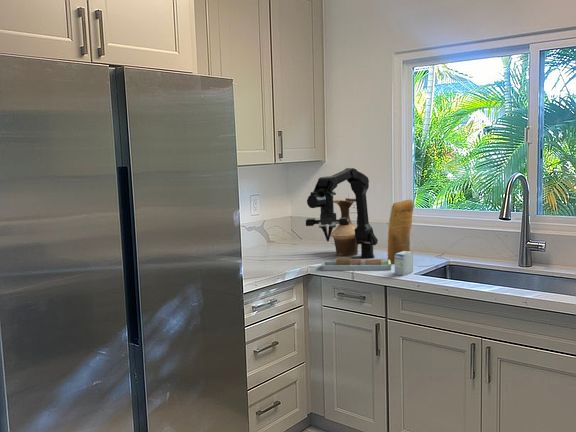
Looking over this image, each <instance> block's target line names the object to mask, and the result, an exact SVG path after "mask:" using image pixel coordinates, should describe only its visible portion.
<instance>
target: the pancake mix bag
mask: <svg viewBox="0 0 576 432" xmlns="http://www.w3.org/2000/svg"><path fill="white" fill-rule="evenodd" d="M413 213H414V201H413V199H406V200H402V201H399V202H393V203H392V205H391V209H390V214H389V220H388V228H387V229H388V232H387V261H388V260H390V262H391V265H395V254H396V253H399V252H402V251H409V252H411V251H410V249H411V247H410V245H411V243H410V242H411V241H410V240H411V239H410V238H411V237H410V236H411V229H412V224H413Z"/></svg>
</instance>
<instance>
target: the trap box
mask: <svg viewBox="0 0 576 432" xmlns="http://www.w3.org/2000/svg"><path fill="white" fill-rule="evenodd" d="M320 270H321V271H391V270H392V264H391V262H390V260H388V259H387V260H384V259H383V258H380V259H379V258H378V259H377V258H374V259H373V258H360V259H350V265H336V260H335V261H333V260H332V261H327V260H326V261H322V263H321V264H320Z"/></svg>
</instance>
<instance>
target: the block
mask: <svg viewBox="0 0 576 432" xmlns="http://www.w3.org/2000/svg"><path fill="white" fill-rule="evenodd" d="M350 260H351V257H350V256H338V257H336V259H335V261H336V265H351V264H350Z"/></svg>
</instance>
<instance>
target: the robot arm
mask: <svg viewBox="0 0 576 432" xmlns="http://www.w3.org/2000/svg"><path fill="white" fill-rule="evenodd" d="M369 180H370V179H369V177H368V176H367V175H366V174H365V173H363V172H361V171H358V169H356V168H354V167H346V168H345V169H343V170H341V171H339V172H337V173H335V174H333V175H329V176H322V177H321V176H320V177H319V178H318V179H317V181H316V184H315V186H314V189H313V191H311V192H310V195H309V196H308V197H307V199H306V204H307V206H308V207H309V208H311V209H317V208H320V214H319V219H316V218H315V217H312V218H311V217H310V218H309V217H308V218H307V219H306V220H305V226H306V227H313V226H315V225H318V228H319V229H321V230H322V232H323V234H324V237H325V240H326V242H329V241H330V238H331V236H330V235H331V233H332V232H333V229H334V228H337V224H338V225H339V224H340V225H349V218H341V217H339V218H338V219H337V213H336V212H334V208H335V207H334V202H333V201H334V196H336V195H337V193H336V191H334V190H335V189H336V188H338V185H339V184H341V183H343V182H345V181H346V182H348V183H349V185H350V187H351V190H352V192H353V193H354V195H355V199H356V202H355V203H356V204H355V205H356V206H355V207H356V214H357V216H358V226H357V225H356V228H355V230H354V231H355V237H356V241H357V244H358V245H360V246H361V247H360V249H361V253H360V259H373V258H374V259H375V253H374V246H376V245H378V243H379V241H378V238H377V237H376V235H375V233H374V230H373V229H374V228H373V227H372V226H371V224H370V223H369V213H368V203H367V192H368V190H369V188H370V187H369V185H370V184H369V183H370V181H369ZM327 225H328V227H327Z"/></svg>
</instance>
